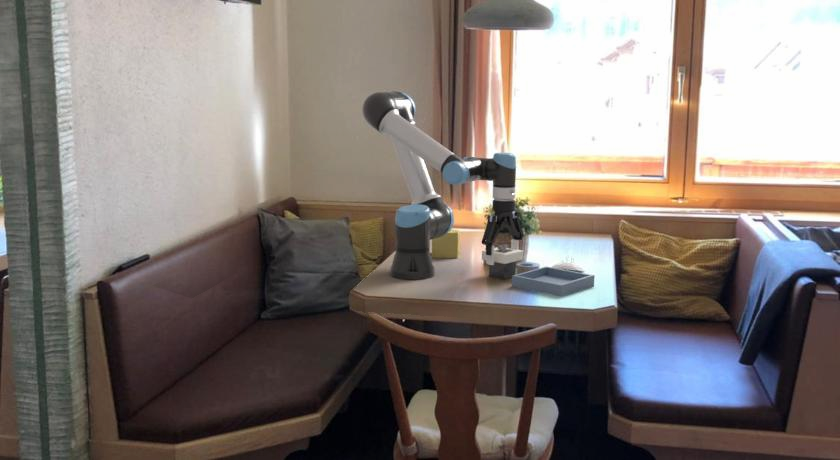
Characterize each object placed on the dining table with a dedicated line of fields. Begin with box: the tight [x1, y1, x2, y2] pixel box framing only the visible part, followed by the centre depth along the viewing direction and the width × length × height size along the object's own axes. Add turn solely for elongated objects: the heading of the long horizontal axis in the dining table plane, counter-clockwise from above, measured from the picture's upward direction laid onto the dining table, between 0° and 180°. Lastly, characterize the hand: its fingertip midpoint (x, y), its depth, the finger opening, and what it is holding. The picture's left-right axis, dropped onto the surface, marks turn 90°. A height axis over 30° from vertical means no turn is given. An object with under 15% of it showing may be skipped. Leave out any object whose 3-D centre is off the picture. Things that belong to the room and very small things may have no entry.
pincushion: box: [551, 256, 585, 272], centre depth 302 cm, size 12×6×6 cm, turn 74°
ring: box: [481, 247, 525, 264], centre depth 292 cm, size 10×12×3 cm
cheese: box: [431, 228, 461, 259], centre depth 326 cm, size 10×11×10 cm
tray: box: [511, 266, 596, 297], centre depth 280 cm, size 19×19×4 cm
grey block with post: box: [488, 243, 517, 281], centre depth 292 cm, size 6×6×11 cm
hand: (502, 261), depth 292 cm, fingers open, 13 cm apart
